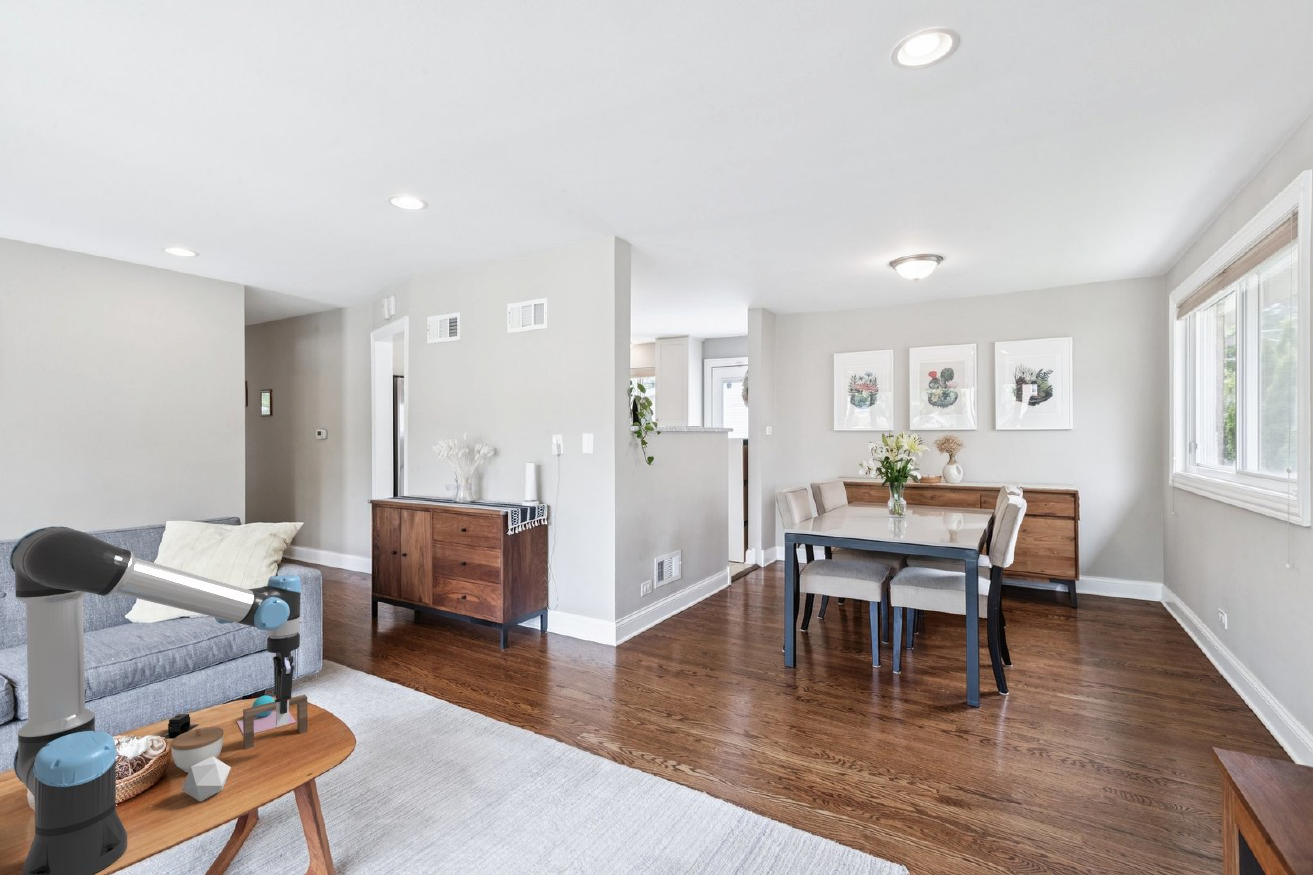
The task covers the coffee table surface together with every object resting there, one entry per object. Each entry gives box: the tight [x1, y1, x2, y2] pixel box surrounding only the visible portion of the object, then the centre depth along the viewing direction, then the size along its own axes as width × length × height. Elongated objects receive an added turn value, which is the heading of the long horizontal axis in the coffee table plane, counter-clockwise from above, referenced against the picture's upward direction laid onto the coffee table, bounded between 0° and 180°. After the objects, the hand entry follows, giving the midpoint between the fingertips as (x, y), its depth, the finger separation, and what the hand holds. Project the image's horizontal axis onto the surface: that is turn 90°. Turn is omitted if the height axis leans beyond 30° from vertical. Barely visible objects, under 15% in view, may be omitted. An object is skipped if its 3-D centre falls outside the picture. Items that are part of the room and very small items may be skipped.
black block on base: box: [162, 713, 200, 740], centre depth 180 cm, size 13×8×5 cm, turn 1°
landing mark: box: [236, 710, 297, 735], centre depth 185 cm, size 13×13×1 cm
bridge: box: [242, 693, 309, 750], centre depth 175 cm, size 3×15×10 cm, turn 131°
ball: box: [251, 695, 276, 717], centre depth 189 cm, size 6×6×6 cm
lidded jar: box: [170, 726, 224, 773], centre depth 160 cm, size 11×11×9 cm
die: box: [181, 756, 232, 803], centre depth 146 cm, size 8×9×10 cm
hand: (282, 724), depth 166 cm, fingers closed
